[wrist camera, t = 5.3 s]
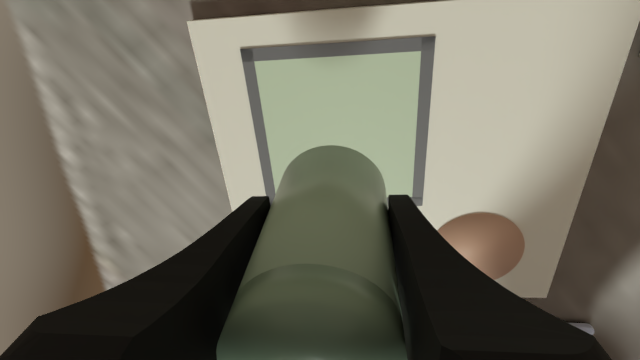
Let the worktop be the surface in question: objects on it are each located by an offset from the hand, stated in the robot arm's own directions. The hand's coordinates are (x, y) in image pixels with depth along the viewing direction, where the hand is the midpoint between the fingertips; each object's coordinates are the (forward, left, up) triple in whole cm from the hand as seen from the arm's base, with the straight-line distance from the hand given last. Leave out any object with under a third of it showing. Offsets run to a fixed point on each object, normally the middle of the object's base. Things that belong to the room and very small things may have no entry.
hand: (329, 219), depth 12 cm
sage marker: (0, 0, -2) cm, 2 cm away
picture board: (-3, -3, -9) cm, 10 cm away
